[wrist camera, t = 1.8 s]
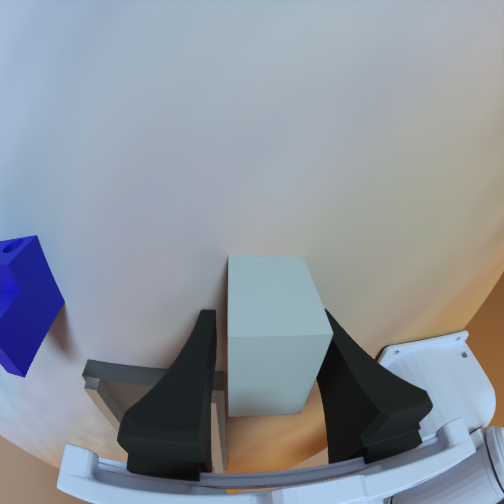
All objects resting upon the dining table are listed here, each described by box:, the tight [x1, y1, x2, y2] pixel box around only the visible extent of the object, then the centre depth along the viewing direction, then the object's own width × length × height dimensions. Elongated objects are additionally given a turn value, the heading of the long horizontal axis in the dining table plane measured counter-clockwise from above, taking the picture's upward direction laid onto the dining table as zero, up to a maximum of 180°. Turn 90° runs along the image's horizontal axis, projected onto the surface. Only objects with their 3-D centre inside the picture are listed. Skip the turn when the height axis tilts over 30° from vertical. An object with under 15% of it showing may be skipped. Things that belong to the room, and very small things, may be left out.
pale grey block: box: [228, 255, 333, 417], centre depth 12 cm, size 4×6×5 cm, turn 177°
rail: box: [82, 360, 228, 473], centre depth 21 cm, size 10×22×2 cm, turn 177°
